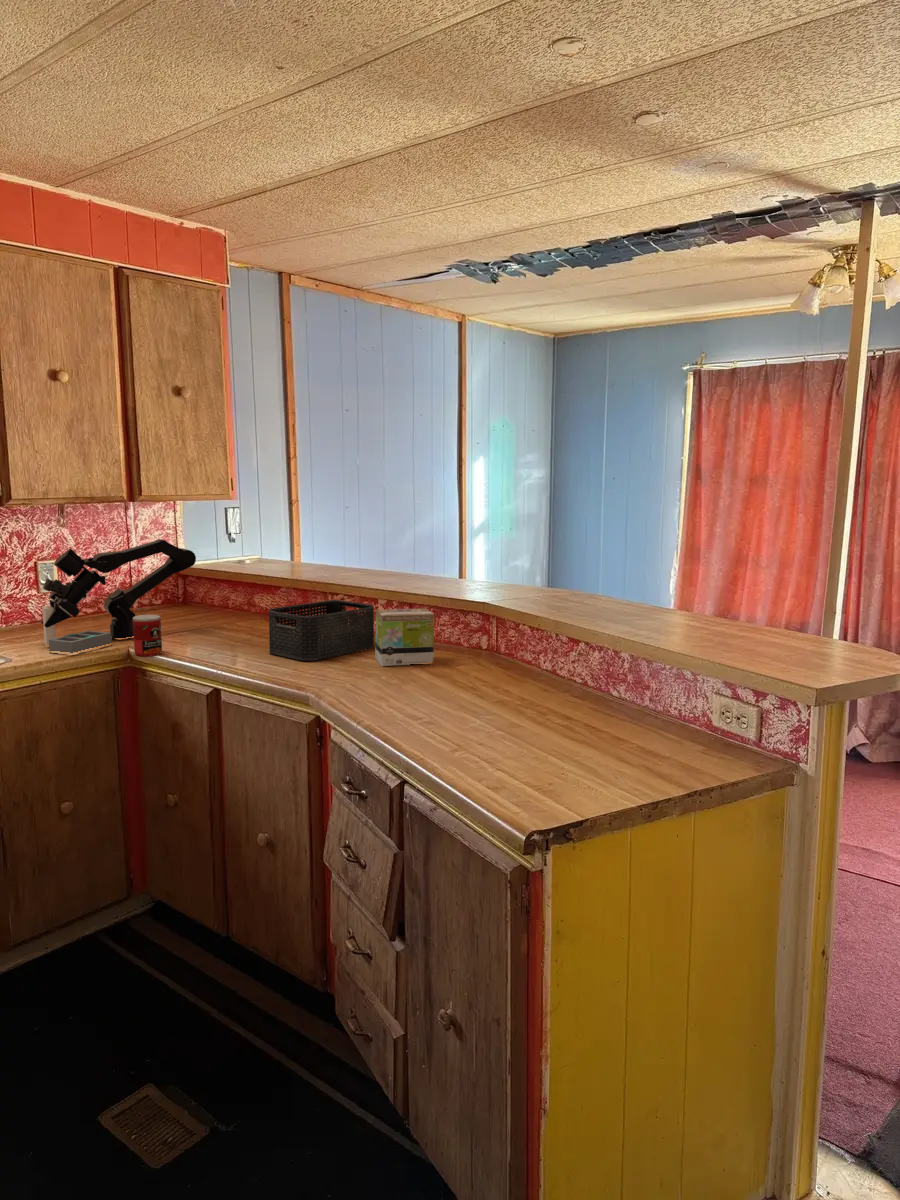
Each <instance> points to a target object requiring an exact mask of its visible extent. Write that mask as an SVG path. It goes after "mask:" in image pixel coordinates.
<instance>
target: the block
mask: <svg viewBox="0 0 900 1200" xmlns="http://www.w3.org/2000/svg"><path fill="white" fill-rule="evenodd" d="M41 609H42V610H41V611H42V612H41V614H42V620H43V624H42V626H43V638H44V639H43V641H44V645H45V644H46V645H47V646H48V645H49V640H50V639H55V638H57V637H56V624H54V625H52V626H50V627H48V628H46V627H45V626H44V625H45V623H46V622H47V620H48V619H49V617H50V616H51V614H52V613H53V611H54V608H53V607H52V606H50V605H44V606H41Z"/></svg>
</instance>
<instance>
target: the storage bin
mask: <svg viewBox="0 0 900 1200" xmlns="http://www.w3.org/2000/svg"><path fill="white" fill-rule="evenodd" d="M346 607H349V608H355V609H351V610H347V609H346ZM374 609H375V606H374V605H373V604H367V603H360V602H353V601H348V600H343V599H342V600H340V599H330V600H321V601H315V602H308V603H301V604H295V605H289V606H288V605H287V606H281V607H276V608H275V607H274V608H269V609H268V616H269V617H268V622H269V623H268V629H269V630H268V631H269V632H268V633H269V634H268V636H269V638H268V639H269V640H268V641H269V645H268V646H269V654H271V655H273V656H278V657H283V658H287V659H292V660H296V661H301V662H303V661H304V662H305V661H307V662H308V661H309V662H312V661H321V660H325V659H330V658H334V657H335V658H336V657H340V656H343V655H344V656H345V655H349V654H352V652H354V653H357V652H356V651H358V652H362V651H361V650H363V651H366V650H365V649H367V650H370V649H374V647H375V641H374V640H375V638H374V637H375V634H374V633H375V632H374V631H375V627H374V626H375V621H374V620H375V619H374V618H375V615H374V614H375V613H374V611H375V610H374ZM369 648H370V649H369Z"/></svg>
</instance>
